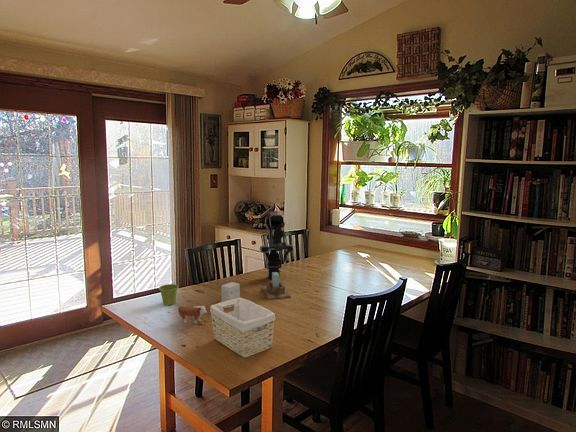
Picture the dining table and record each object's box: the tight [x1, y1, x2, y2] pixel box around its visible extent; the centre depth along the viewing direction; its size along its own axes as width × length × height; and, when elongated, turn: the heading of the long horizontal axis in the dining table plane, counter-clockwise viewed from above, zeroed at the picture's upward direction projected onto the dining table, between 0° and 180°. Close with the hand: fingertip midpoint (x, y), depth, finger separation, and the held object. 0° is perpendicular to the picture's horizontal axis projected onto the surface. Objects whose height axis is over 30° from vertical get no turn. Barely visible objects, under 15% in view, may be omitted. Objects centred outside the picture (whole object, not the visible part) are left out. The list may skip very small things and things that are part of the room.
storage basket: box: [209, 297, 276, 359], centre depth 160 cm, size 24×16×15 cm
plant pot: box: [158, 283, 179, 306], centre depth 203 cm, size 9×9×9 cm
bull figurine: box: [178, 305, 207, 324], centre depth 180 cm, size 4×13×8 cm, turn 80°
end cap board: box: [261, 281, 291, 300], centre depth 221 cm, size 12×18×4 cm, turn 14°
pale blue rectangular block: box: [271, 272, 280, 288], centre depth 221 cm, size 3×5×10 cm, turn 14°
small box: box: [220, 281, 241, 309], centre depth 203 cm, size 8×6×10 cm
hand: (276, 262), depth 235 cm, fingers open, 9 cm apart
